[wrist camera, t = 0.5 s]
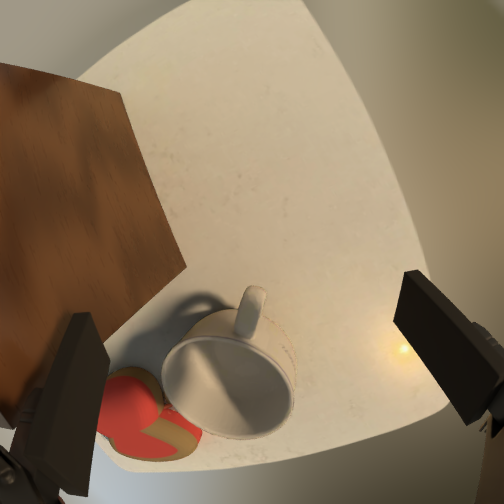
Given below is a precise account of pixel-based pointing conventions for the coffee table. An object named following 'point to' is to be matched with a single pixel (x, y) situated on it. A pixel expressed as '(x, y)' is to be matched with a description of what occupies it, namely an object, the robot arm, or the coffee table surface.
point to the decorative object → (143, 419)
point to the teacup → (233, 372)
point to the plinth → (70, 223)
